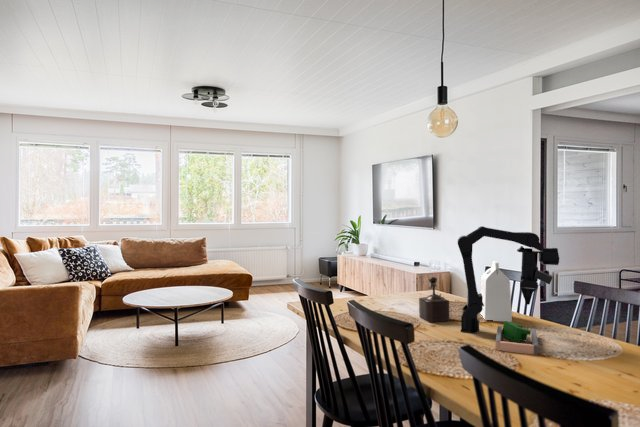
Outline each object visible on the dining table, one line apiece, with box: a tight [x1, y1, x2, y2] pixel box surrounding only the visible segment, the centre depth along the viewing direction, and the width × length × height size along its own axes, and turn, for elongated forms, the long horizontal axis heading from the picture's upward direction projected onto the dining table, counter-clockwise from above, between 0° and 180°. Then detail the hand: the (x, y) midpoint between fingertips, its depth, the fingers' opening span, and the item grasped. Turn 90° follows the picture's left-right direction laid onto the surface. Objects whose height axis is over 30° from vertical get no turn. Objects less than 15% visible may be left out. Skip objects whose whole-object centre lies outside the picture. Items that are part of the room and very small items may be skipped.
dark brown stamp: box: [418, 276, 450, 323], centre depth 211 cm, size 16×11×18 cm
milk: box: [479, 260, 513, 323], centre depth 211 cm, size 12×12×26 cm
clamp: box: [502, 321, 532, 343], centre depth 178 cm, size 12×6×9 cm, turn 176°
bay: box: [494, 325, 539, 356], centre depth 173 cm, size 14×24×3 cm, turn 157°
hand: (527, 302), depth 184 cm, fingers open, 9 cm apart
